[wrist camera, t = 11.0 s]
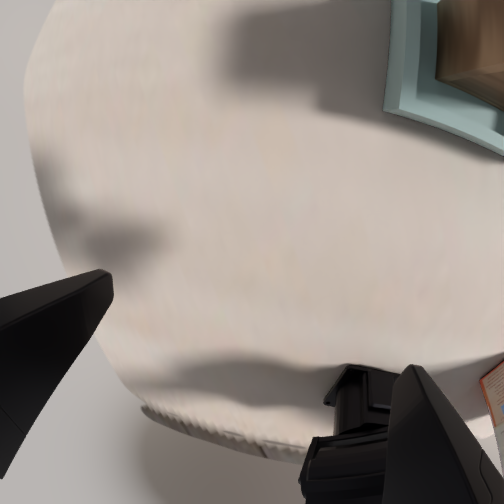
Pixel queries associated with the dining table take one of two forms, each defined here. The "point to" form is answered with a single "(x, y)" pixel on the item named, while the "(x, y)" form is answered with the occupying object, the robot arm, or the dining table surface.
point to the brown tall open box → (472, 48)
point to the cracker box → (496, 404)
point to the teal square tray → (432, 81)
